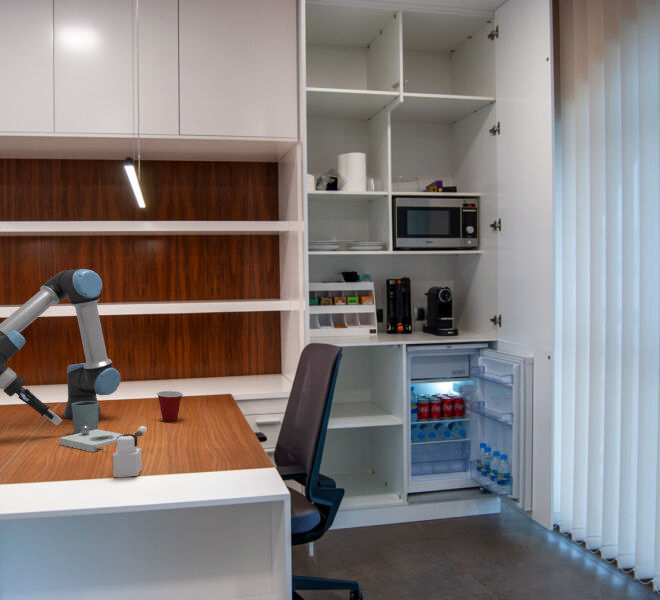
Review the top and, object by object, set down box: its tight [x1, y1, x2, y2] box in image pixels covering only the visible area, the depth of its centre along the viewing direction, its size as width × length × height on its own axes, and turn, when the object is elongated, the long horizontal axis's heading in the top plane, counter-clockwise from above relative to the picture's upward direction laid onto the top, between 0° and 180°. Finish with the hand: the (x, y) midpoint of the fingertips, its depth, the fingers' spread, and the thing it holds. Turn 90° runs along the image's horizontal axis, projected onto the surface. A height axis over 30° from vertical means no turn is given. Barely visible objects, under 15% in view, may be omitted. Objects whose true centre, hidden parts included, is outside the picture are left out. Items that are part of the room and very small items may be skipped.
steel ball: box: [80, 425, 90, 435], centre depth 244 cm, size 4×4×4 cm
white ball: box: [137, 425, 148, 433], centre depth 253 cm, size 4×4×4 cm
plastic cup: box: [156, 390, 184, 423], centre depth 277 cm, size 11×11×12 cm
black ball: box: [134, 430, 144, 437], centre depth 247 cm, size 3×3×3 cm
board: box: [58, 428, 124, 453], centre depth 240 cm, size 20×16×2 cm
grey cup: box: [71, 401, 100, 435], centre depth 257 cm, size 10×10×12 cm
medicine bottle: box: [112, 433, 143, 477], centre depth 202 cm, size 7×7×12 cm
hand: (59, 422), depth 253 cm, fingers closed
